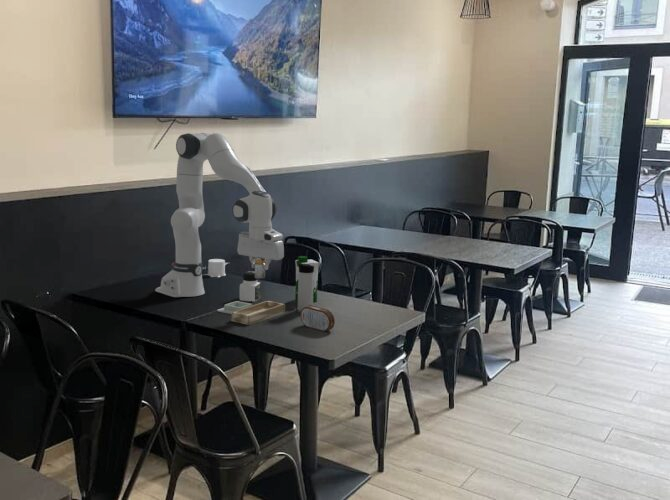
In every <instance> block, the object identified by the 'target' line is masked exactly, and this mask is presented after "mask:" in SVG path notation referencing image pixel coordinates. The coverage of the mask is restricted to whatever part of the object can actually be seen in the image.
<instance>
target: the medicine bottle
mask: <svg viewBox="0 0 670 500" xmlns="http://www.w3.org/2000/svg"><path fill="white" fill-rule="evenodd" d="M260 298H261V282H259V281H258V278H255V271H245V272H243V274H242V283H240V284H239V301H240V302H251V301H252V303H253V302H254V303H255V302H257V301H258V300H259V299H260Z"/></svg>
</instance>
